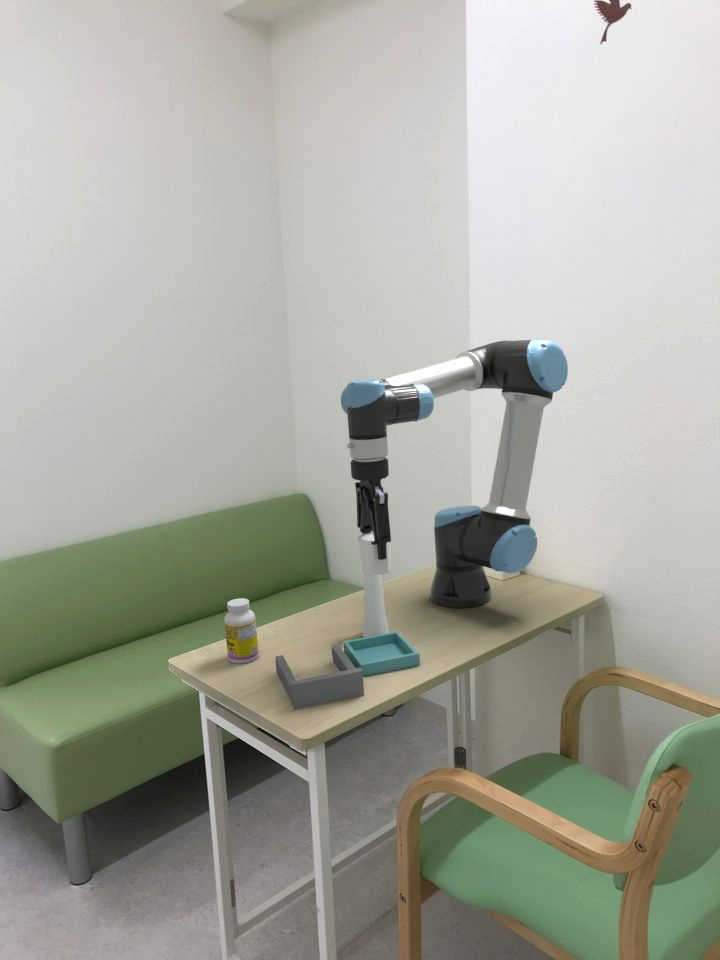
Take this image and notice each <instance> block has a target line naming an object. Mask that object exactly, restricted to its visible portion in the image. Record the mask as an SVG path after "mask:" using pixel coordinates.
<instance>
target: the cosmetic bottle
mask: <svg viewBox="0 0 720 960" xmlns="http://www.w3.org/2000/svg"><path fill="white" fill-rule="evenodd" d="M363 588H364V589H363V590H364V591H363V593H364V594H363V595H364V598H363V599H364V601H363V602H364V605H363V606H364V609H363V610H364V612H363V613H364V619H363V630H362V638H365V637H370V636H376V635H381V634H386V633H390V631H389V625H388V621H387V620H388V619H387V615H386V607H385V600H384V598H385V597H384V588H383V579H382V574H381V575H375V574H368V573H365V572H363Z"/></svg>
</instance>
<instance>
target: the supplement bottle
mask: <svg viewBox="0 0 720 960" xmlns="http://www.w3.org/2000/svg"><path fill="white" fill-rule="evenodd" d="M250 606H251V605H250V600H249V599H248V598H244V597H242V598H234V599H231V600H229V601H228V602H227V604H226V607H227V610H228V613H226V614H225V616H224V619H223V620H224V622H223V623H224V630H225V631H224V632H225V641H226V650H227V651H226V652H227V658H228V660H229V661H230V662H231V663H234V664H248V663H251V662H253V661H255V660H257V658H259V652H260V651H259V650H260V649H259V642H258V631H257V622H256V620H257V619H256V615H255V612H254V611H252V610H251V609H250Z"/></svg>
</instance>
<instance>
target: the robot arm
mask: <svg viewBox="0 0 720 960" xmlns="http://www.w3.org/2000/svg"><path fill="white" fill-rule="evenodd" d="M568 365H569V364H568V360H567V357H566V354H565V353H564V350H563V349H562V347H561V346H560V345H559V344H558V343H556V342H555V341H554V342H553V341H552V340H545V339H543V340H542V339H537V338H536V339H535V338H534V339H525V340H523V339H522V340H499V341H495V342H494V341H493V342H490V343H488V344H484V345H480V346H478V347H475V348H472V349H469V350H464V351H462V352H460V353H458V354H457V356H456V357H455V358H452V359H448V360H445V361H441V362H437V363H435V364H431V365H427V366H423V367H420V368H417V369H412V370H409V371H406V372H402V373H398V374H395V375H391V376H388V377H384V378H380V379H375V378H374V379H359V380H353V381H352V380H351V381H350V382H348V383H347V385H346V387H344V389H343V391H342V392H341V396H340V405H341V408H342V411H343V412H344V413H345V415H347V426H348V427H347V428H348V429H347V430H348V440H349V441H348V442H349V443H347V444H346V446H347V449H349V456H350V457H351V461H350V474H351V475H350V476H351V478H352V479H353V480H355V481H357V482H355V483H354V486H355V493H356V497H355V499H356V526H357V528H359V532H360V533H361V535H364V534H369V533H373V535H374V542H371V544H372V545H373V554H374V571H375V575H381V576H382V575H387V574H389V573H390V570H389V571H388V553H387V543H388V542H391V543H392V535H391V526H390V524H391V523H390V514H389V494H388V492H386V491H385V492H384V487H383V486H382V482H381V481H382V480H383V479H386V478H387V477H389V474H390V473H389V472H390V470H389V468H390V467H389V459H388V458H387V456H388V455H389V448H388V447H389V446H388V435H387V433H388V430H387V426H391V425H396V424H403V423H410V422H411V423H412V422H419V421H422V420H426V419H427V418H429V417H430V416H431V415H432V413H433V411H434V407H435V401H434V399H437V398H440V397H442V396H446V395H450V394H452V393H456V392H459V391H462V390H465V391H467V392H474V391H476V390H481V389H482V390H483V389H488V390H489V389H495V390H501V396H502V397H503V399H504V400H505V402H506V404H505V411H504V415H503V421H502V427H501V432H500V438H499V445H498V449H497V453H496V454H497V455H496V460H495V461H496V462H495V467H494V472H493V478H492V483H491V484H492V485H491V489H490V495H489V501H488V503H487V504H486V505H485V506H483V507H482V508H481V506H478V505H461V506H459V505H458V506H452V507H447V508H444V509H443V508H442V509H441V510H438V511H437V512H436V513H435V515H434V526H433V530H434V531H433V533H434V534H433V535H434V547H435V549H434V550H435V560H436V563H435V572H434V575H433V579H432V582H431V586H430V590H429V591H430V600H432V602H433V603H434V604H437V605H440V606H444V607H449V608H457V609H459V608H462V609H463V608H473V607H478V606H480V605H484V604H486V603H487V602H489V601H490V600H491V599H492V588H491V586H490V582H489V579H488V577H487V573H486V571H485V569H484V567H485V568H488V569H491V570H494V571H495V572H500V573H501V572H502V573H506V574H516V573H518V572H522V571H523V570H524V569H525V568H526V567H527V566H529V564H530V563H531V562H532V560H533V558H534V557H535V554H536V552H537V547H538V537H537V533H536V531H535V529H534V528H532V527H531V525H530V524H531V519H532V518H531V516H530V514H529V513H528V511H527V505H528V498H529V492H530V486H531V481H532V477H533V471H534V465H535V464H534V463H535V459H536V454H537V448H538V443H539V442H538V441H539V436H540V431H541V426H542V425H541V424H542V420H543V414H544V409H545V407H547V406H548V405H550V404H551V403H552V401H553V395H554V393H556V392H558V391H560V390H561V389H563V386H565V384H566V382H567V381H568V375H569V367H568ZM361 535H360V536H361Z"/></svg>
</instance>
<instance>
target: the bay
mask: <svg viewBox="0 0 720 960" xmlns="http://www.w3.org/2000/svg"><path fill="white" fill-rule="evenodd" d="M330 648H331V660H332V663H333V665H334V666H335V668H336V669H337V670H338V671H336V672H331V673H326V674H321V675H317V676H310V677H305V678H299V679H296V677H295V676H294V674H293V672H292V670H291V668H290V666H289V664H288V662H287V661H286V659H285V656H284V655H283V654H281V655H275V657H274V660H275V661H274V662H275V670H276V671H275V672H276V674H277V676H278V678H279V681H280V683H281V684H282V687H283V688H284V690H285V693H286V694H287V698H288V699H289V701H290V703H291V706H292V707H293V709H294V710H301V709H306V708H309V707H315V706H319V705H324V704H330V703H333V702H338V701H343V700H348V699H352V698H353V699H354V698H357V697H362V696H365V687H364V676H363V671H362V669H361V668H355V666H354V665H353V664H352V662H351V661H350V659H349V658H348V657H347V655H346V654H345V653H344V649H342V646H340V644H336V645H335V644H334V645H331V647H330Z"/></svg>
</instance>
